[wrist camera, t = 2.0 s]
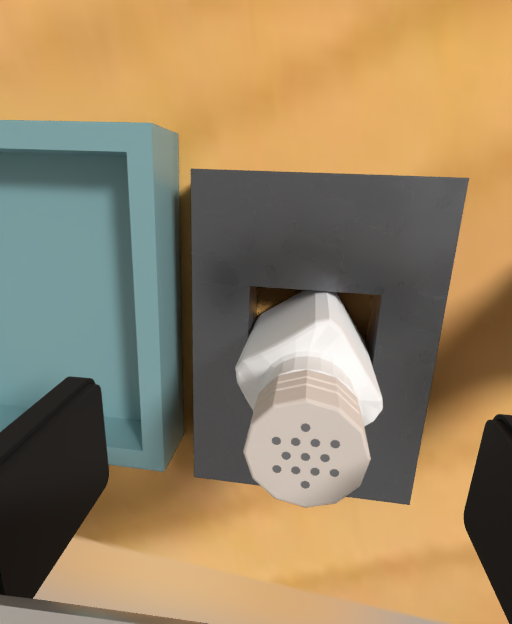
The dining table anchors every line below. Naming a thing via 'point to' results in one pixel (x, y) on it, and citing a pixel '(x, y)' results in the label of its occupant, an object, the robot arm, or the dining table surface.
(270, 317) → the pepper shaker
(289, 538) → the dining table surface
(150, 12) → the dining table surface
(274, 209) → the socket block
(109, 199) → the tray
